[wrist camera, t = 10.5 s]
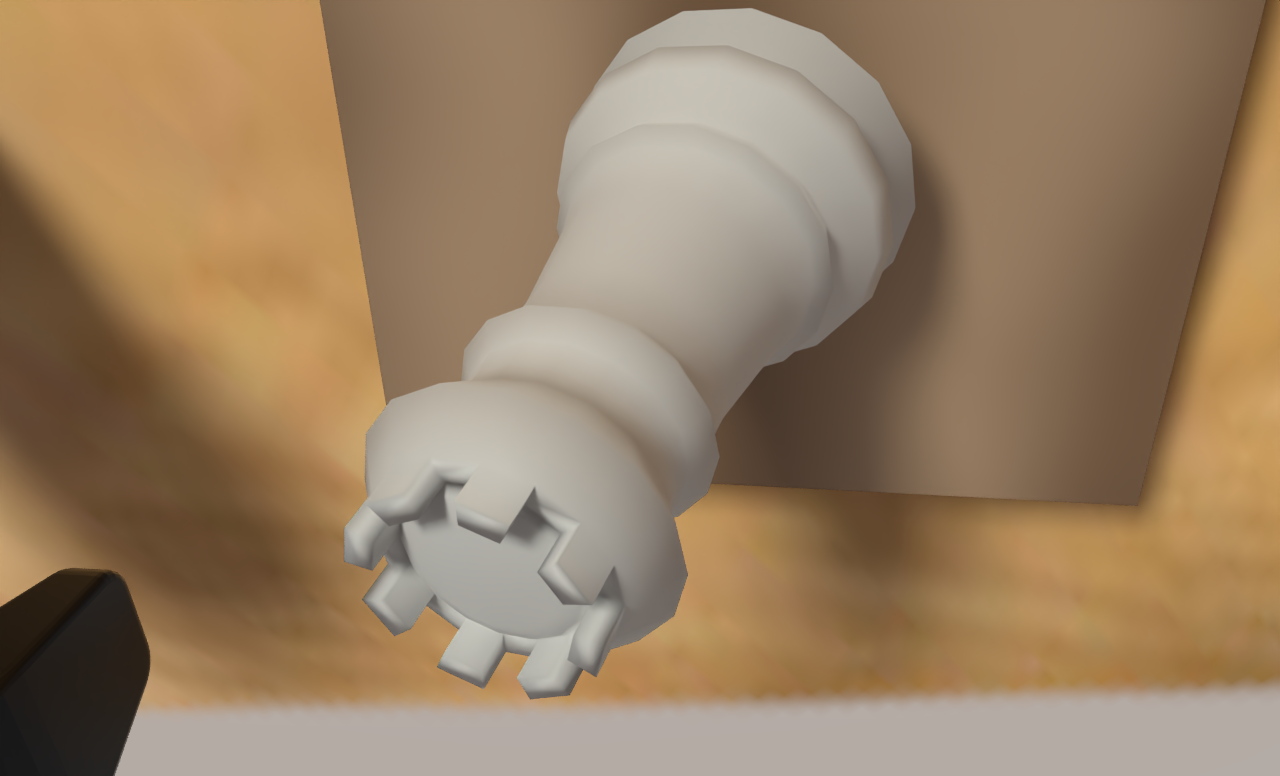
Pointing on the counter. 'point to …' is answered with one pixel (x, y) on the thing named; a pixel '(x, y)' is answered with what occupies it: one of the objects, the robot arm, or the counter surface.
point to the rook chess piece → (634, 344)
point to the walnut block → (927, 257)
